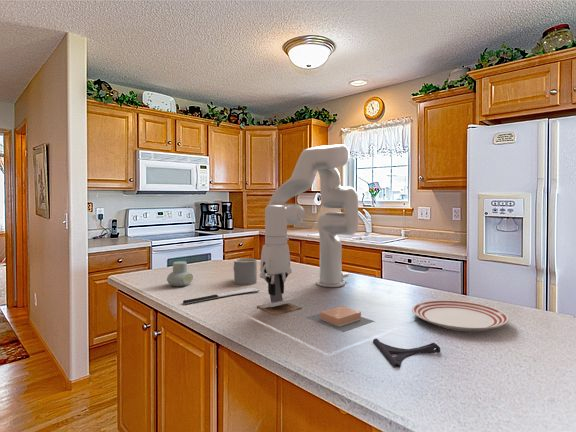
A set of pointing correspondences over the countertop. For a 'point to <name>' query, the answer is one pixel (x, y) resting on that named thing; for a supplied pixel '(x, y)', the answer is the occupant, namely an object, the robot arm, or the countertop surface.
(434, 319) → the dinner plate
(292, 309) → the board
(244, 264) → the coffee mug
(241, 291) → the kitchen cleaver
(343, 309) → the block
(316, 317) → the mat
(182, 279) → the air freshener
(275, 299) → the white base with post
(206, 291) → the countertop surface
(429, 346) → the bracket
